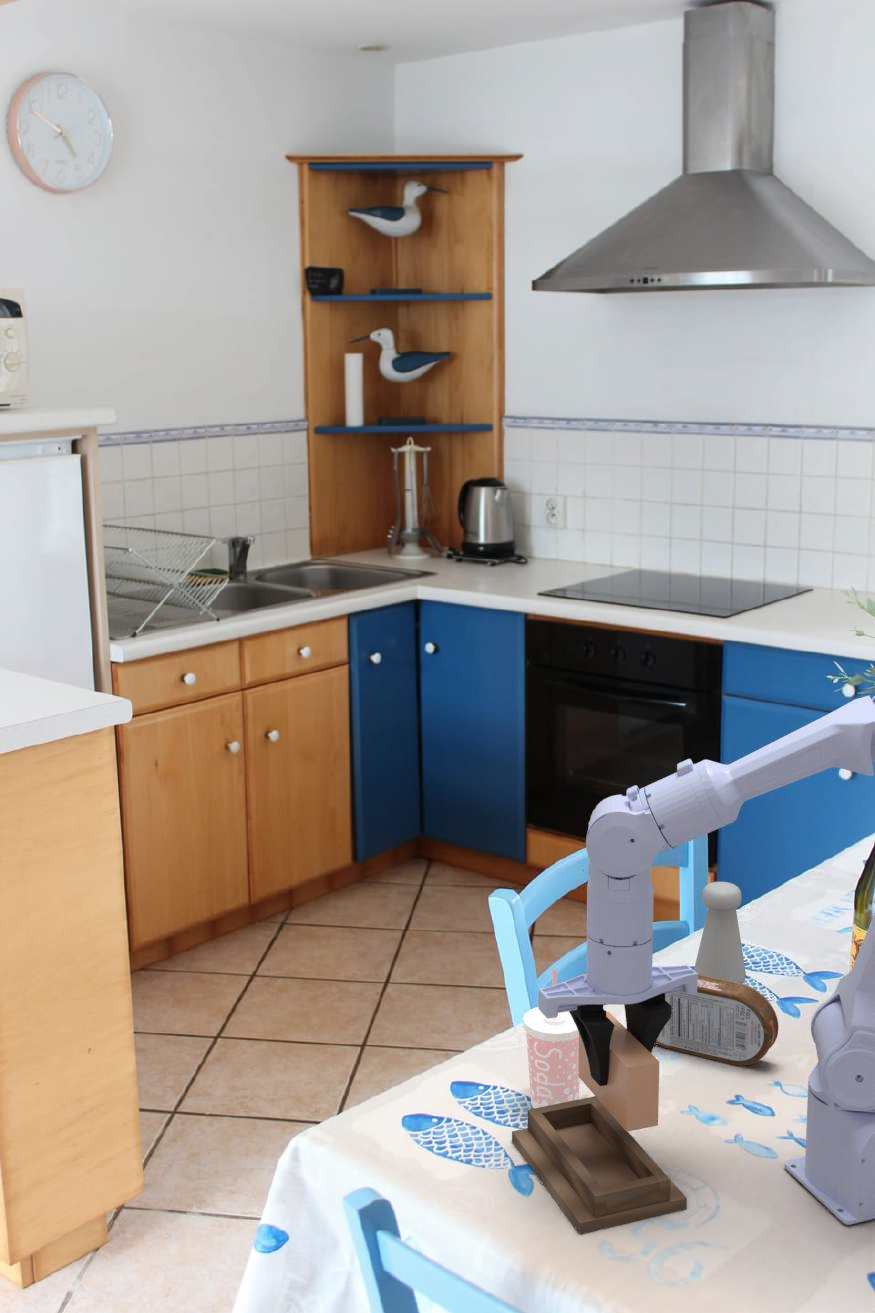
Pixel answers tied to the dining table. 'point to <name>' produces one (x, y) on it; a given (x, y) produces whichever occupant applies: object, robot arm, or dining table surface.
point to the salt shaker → (721, 934)
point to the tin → (720, 1022)
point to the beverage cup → (552, 1056)
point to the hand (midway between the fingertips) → (617, 1077)
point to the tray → (594, 1166)
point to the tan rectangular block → (626, 1080)
